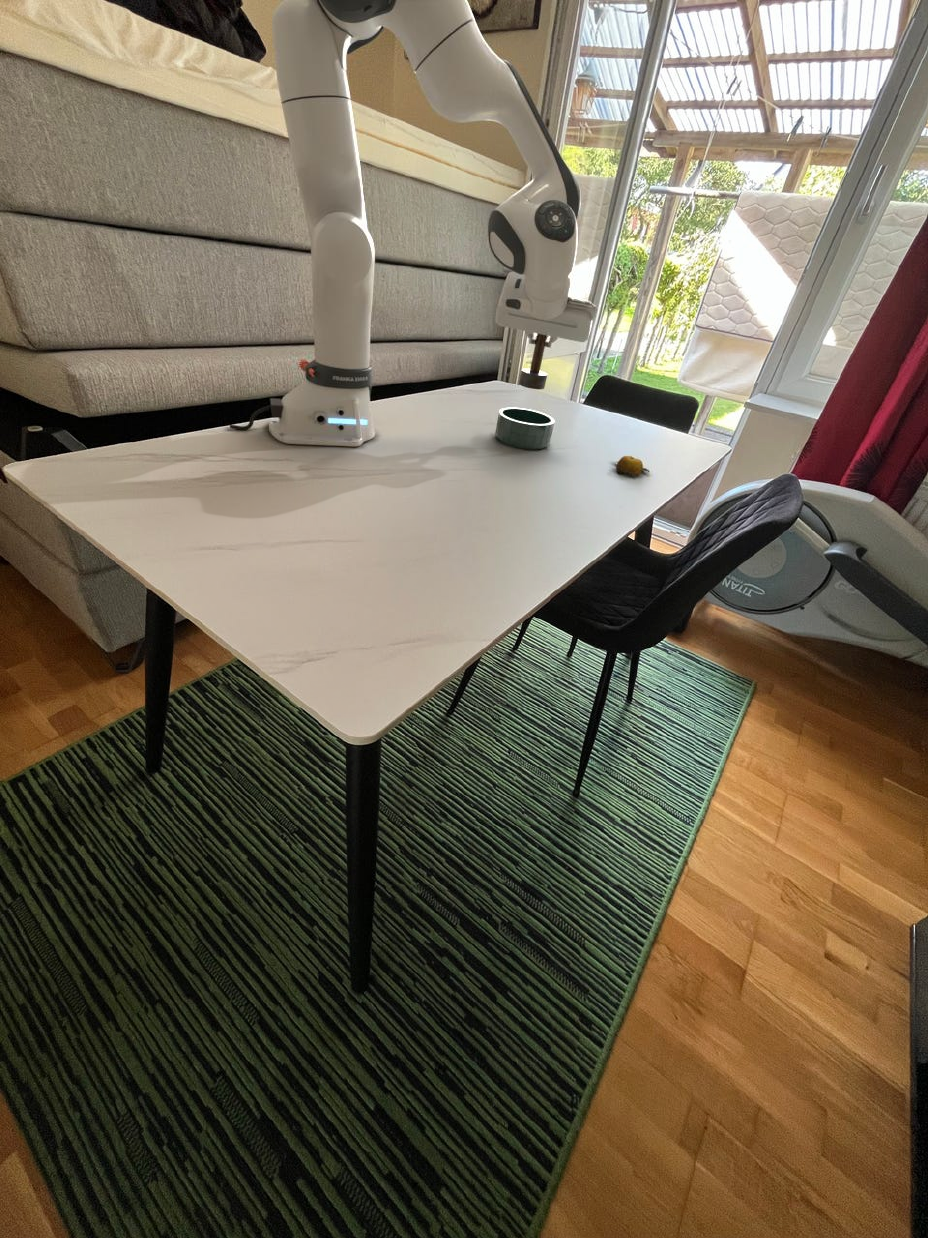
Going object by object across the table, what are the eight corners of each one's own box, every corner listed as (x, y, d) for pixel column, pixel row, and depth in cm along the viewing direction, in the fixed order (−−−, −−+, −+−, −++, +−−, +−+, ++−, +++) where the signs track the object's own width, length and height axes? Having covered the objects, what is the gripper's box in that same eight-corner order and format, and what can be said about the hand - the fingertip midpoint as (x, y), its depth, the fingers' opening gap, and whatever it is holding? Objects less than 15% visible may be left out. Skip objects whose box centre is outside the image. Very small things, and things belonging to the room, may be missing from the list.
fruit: (649, 472, 122) (655, 457, 120) (642, 481, 116) (647, 465, 114) (616, 462, 125) (621, 447, 123) (607, 471, 119) (611, 455, 117)
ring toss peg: (527, 389, 116) (544, 307, 107) (514, 381, 120) (529, 302, 111) (549, 389, 119) (567, 310, 110) (535, 382, 123) (551, 305, 114)
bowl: (512, 451, 121) (518, 425, 117) (485, 432, 130) (489, 407, 127) (559, 449, 127) (565, 424, 123) (529, 431, 136) (534, 407, 133)
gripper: (602, 289, 101) (589, 339, 114) (501, 270, 103) (500, 322, 116) (595, 317, 100) (583, 364, 113) (492, 297, 102) (493, 346, 115)
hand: (540, 343), depth 115 cm, fingers closed on ring toss peg, 2 cm apart
